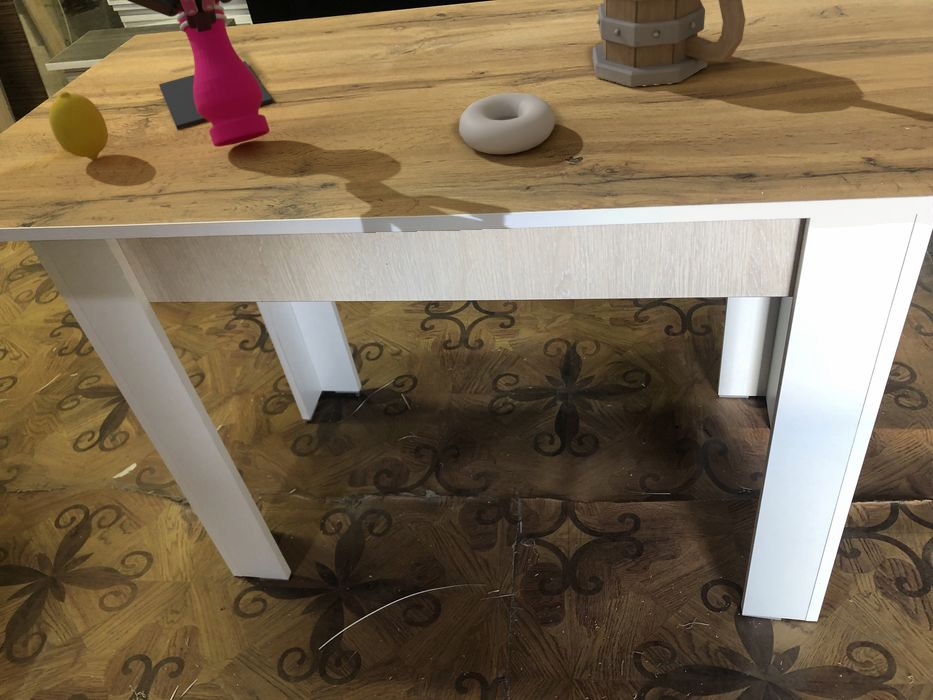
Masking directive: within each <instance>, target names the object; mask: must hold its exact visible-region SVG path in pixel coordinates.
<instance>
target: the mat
mask: <svg viewBox="0 0 933 700" xmlns="http://www.w3.org/2000/svg"><path fill="white" fill-rule="evenodd" d="M243 63H244V64H245V65H246V66H247V68H248V69H249V70H250V71H251V72H252V74H253V75H254V77H255V78H256V80H257V82H258V84H259V86H260V89H261V91H262V94H263V98H262V103H261V105H260V107H262V106H265V105H270V104H273V103H274V99H273V98H272V96H271V94H270V93H269V92H268V90H267V89H266V88H265V87H264V85H263V84H262V82H261V81H260V80H259V78H258V76H256V74H255V73H254V71H253V70H252V68H251V67H250V65H249V64H248V62H247V61H246V60H244V61H243ZM193 85H194V74H192V75H187V76H183V77H180V78H177V79H173V80H169V81H166V82H161V83H158V86H159V88H160V91H161V94H162V96H163V98H164V102H165V103H166V106H167V108H168V111H169V113H170V116H171V118H172V120H173V123H174V126H175V127H176V130H181V129H184V128H187V127H192V126H195V125H198V124H202V123H205V122H206V123H207V122H209V121H208V120H206V119H205V118H203V117H202V116H201V115H200V114H199V113H198V111H197V109H196V105H195V101H194V93H193Z"/></svg>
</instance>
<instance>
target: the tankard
mask: <svg viewBox="0 0 933 700" xmlns="http://www.w3.org/2000/svg"><path fill="white" fill-rule="evenodd" d="M718 5H719V9H720V15H721V19H722V25H721V33H720V36H719V38H718V40H717V41H711V40H709V39H706V38H703V37H701V36H699V35H698V33H700V32H702V31H703V30H704V29H705V20H706V8H705V6H704V5H703V3H702V1H701V0H603V2H602V3H600V4H599V5H597V7H598V12H597V15H598V16H597V17H598V18H596V24H597V25H598V30H599V34H600V38H601V40H602V42H601V43H599V44H597V45H595V46H593V48H592V62H593V69H594V75H595V77H596V78H597V77H598V78H597V79H600V78H601V80H604V79H605V80H604V81H607V80H608V81H607V82H611V81H612V82H611V83H614V82H616V83H615V84H618V83H619V84H618V85H621V84H623V85H622V86H625V85H626V86H625V87H628V86H630V87H629V88H635V87H634V86H643V85H654V84H667V85H669V84H668V83H677V82H679V83H681V82H683V81H684V79H685V78H686V79H688V78H690V77H692V76H694V75H695V74H694V73H696V72H697V73H699V72H700V71H699V70H701V69H703V68H705V67H706V68H707V67H708V63H722V64H723V63H726V62H728V61H729V60H730V59H731V58H732V56H733V55H734V54H735V52H736V50H737V49H738V47H739V46H740V44H741V43H742V41H743V37H744V30H745V25H746V15H745V9H744V4H743V0H718ZM706 68H705V69H706ZM703 70H704V69H703ZM698 71H699V72H698ZM701 71H702V70H701ZM697 73H696V74H697ZM693 74H694V75H693ZM691 75H692V76H691ZM689 76H690V77H689ZM687 77H688V78H687ZM686 79H685V80H686ZM682 80H683V81H682ZM680 81H681V82H680ZM677 84H678V83H677Z"/></svg>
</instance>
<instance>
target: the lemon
mask: <svg viewBox="0 0 933 700" xmlns="http://www.w3.org/2000/svg"><path fill="white" fill-rule="evenodd" d="M48 121H49V125H50V128H51V131H52V134H53V136H54V137H55V140H56V142H58V144H59V145H60V146H61V147H62V148H63V149H64V150H65V151H66V152H67V153H70V154H71V155H73V156H76V157H81V158H87V159H89V160H92V161H93V160H96V159H97V158H98V156H99V153H100V152H102V151H103V150H104V149H105V147H106V145H107V143H108V139H109V132H108V128H107V122H106V120H105V118H104V116H103V114H102V113H101V111H100V110H99V108H98V107H97V105H95V103H93V102H92V101H91V100H90V99H89V98H87V96H84V95H82V94H78V93H72V92H70V93H69V92H67V91H62V92H60V93H59V95H58V96H57V97H56V98H55V99H54V100H53V101H52V103H51V104H50V107H49V110H48Z"/></svg>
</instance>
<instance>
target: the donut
mask: <svg viewBox="0 0 933 700" xmlns="http://www.w3.org/2000/svg"><path fill="white" fill-rule="evenodd" d="M555 123H556V120H555V112H554V109H553V108H552V106H551V105H550V104H549V103H548V102H547V101H546V100H545V99H544V98H542V97H539V96H537V95H535V94H530V93H525V92H502V93H496V94H491V95H488V96H485V97H483V98H481V99H478V100H476V101H474V102H473V103H471V104H469V106H467V107H466V109H465V110H464V111H463V113H462V114H461V116H460V118H459V125H458V132H459V135H460V136H461V138H462V140H463V141H464V143H465V144H466V145H467V146H468V147H470V148H472V149H474V150H475V151H476V152H481V153H485V154H488V155H510V154H512V155H513V154H517V153H522V152H525V151H529V150H531V149H533V148H535V147H538V146H539V145H541V144H542V143H543V142H544V141H546V140H547V139H548V138H549V136H550V135H551V133H552V132H553V129H554V128H555Z"/></svg>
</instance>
